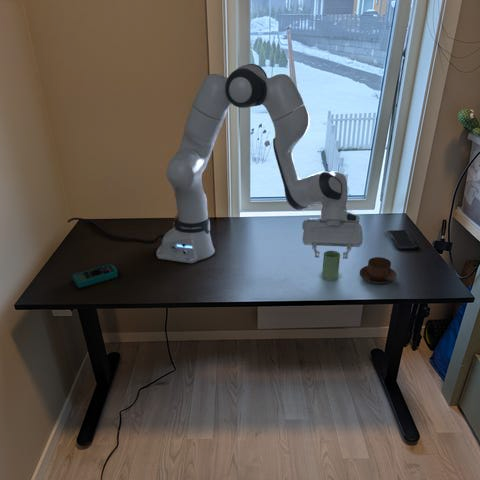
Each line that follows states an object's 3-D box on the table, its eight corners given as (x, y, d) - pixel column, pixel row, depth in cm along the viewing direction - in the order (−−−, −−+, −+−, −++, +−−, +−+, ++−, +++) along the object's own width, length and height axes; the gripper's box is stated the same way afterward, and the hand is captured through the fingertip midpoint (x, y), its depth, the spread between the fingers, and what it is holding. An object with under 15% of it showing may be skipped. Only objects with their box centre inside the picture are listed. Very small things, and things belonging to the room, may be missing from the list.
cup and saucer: (403, 280, 156) (406, 264, 153) (377, 290, 151) (380, 274, 148) (376, 266, 165) (379, 250, 161) (351, 276, 160) (353, 260, 156)
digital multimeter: (120, 277, 165) (118, 270, 163) (78, 289, 158) (76, 282, 157) (113, 269, 170) (111, 262, 168) (73, 280, 164) (71, 273, 162)
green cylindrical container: (322, 279, 158) (323, 257, 154) (322, 271, 163) (323, 250, 158) (337, 280, 158) (340, 258, 153) (337, 272, 162) (339, 250, 157)
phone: (397, 247, 174) (386, 230, 186) (397, 249, 175) (386, 233, 187) (418, 246, 174) (406, 229, 186) (417, 249, 175) (405, 232, 187)
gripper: (302, 214, 157) (300, 253, 155) (364, 216, 155) (362, 256, 152) (302, 221, 164) (300, 259, 161) (361, 223, 161) (360, 261, 158)
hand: (331, 257), depth 157 cm, fingers open, 8 cm apart
